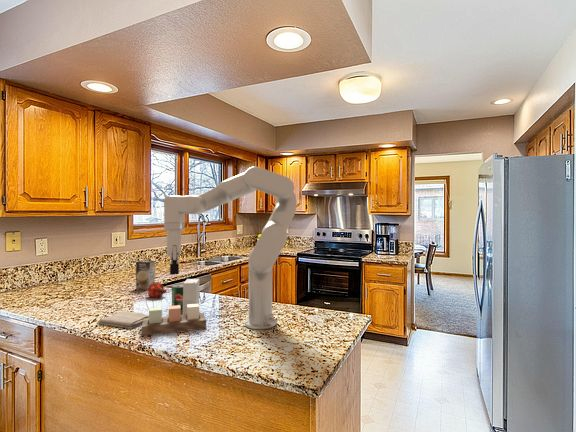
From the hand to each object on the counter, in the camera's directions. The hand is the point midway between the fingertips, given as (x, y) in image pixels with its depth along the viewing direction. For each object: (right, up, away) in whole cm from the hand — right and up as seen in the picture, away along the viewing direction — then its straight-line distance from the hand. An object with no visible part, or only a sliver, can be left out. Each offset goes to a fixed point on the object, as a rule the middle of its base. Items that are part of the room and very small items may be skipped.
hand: (174, 273), depth 129 cm
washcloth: (-22, -22, +7) cm, 32 cm away
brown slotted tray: (0, -21, 0) cm, 21 cm away
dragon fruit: (-26, -21, +47) cm, 58 cm away
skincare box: (+1, -21, +18) cm, 28 cm away
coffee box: (-41, -21, +68) cm, 82 cm away
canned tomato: (-6, -21, +26) cm, 34 cm away
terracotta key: (0, -18, 0) cm, 18 cm away
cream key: (+7, -18, +3) cm, 19 cm away
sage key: (-6, -18, -2) cm, 19 cm away
